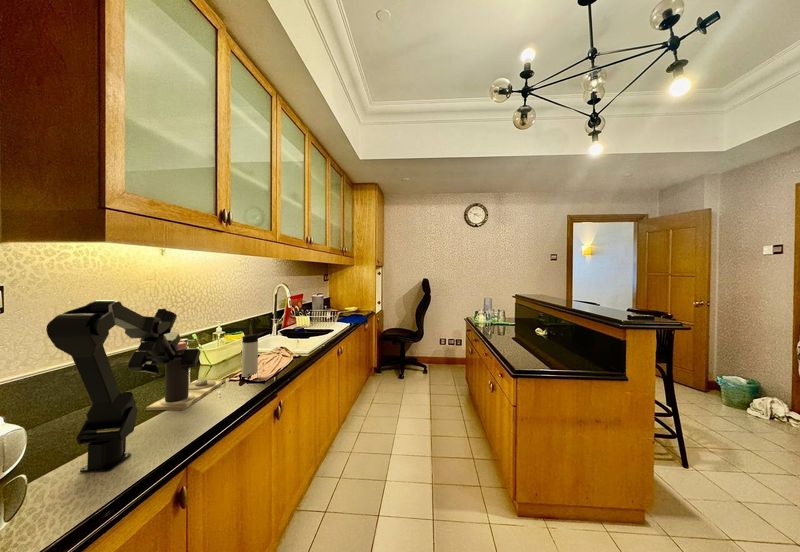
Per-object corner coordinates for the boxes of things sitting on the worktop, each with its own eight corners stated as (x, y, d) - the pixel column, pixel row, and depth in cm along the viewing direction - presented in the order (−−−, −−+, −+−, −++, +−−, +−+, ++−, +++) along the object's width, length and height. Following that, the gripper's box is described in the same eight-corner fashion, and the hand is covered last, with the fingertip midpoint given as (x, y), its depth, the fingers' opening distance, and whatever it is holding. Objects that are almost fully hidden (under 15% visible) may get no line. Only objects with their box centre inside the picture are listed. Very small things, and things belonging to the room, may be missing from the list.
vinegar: (162, 399, 106) (163, 343, 106) (185, 393, 111) (186, 340, 111) (167, 404, 101) (168, 346, 102) (191, 398, 107) (191, 342, 107)
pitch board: (183, 409, 101) (183, 401, 101) (146, 410, 100) (146, 402, 100) (224, 382, 128) (224, 375, 128) (195, 382, 127) (195, 375, 127)
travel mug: (251, 382, 128) (252, 335, 128) (238, 380, 129) (239, 334, 129) (261, 377, 134) (261, 333, 134) (248, 376, 135) (249, 332, 136)
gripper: (199, 324, 101) (210, 350, 111) (133, 326, 96) (151, 352, 107) (188, 353, 93) (201, 377, 104) (116, 356, 88) (137, 382, 99)
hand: (173, 371), depth 103 cm, fingers open, 9 cm apart
